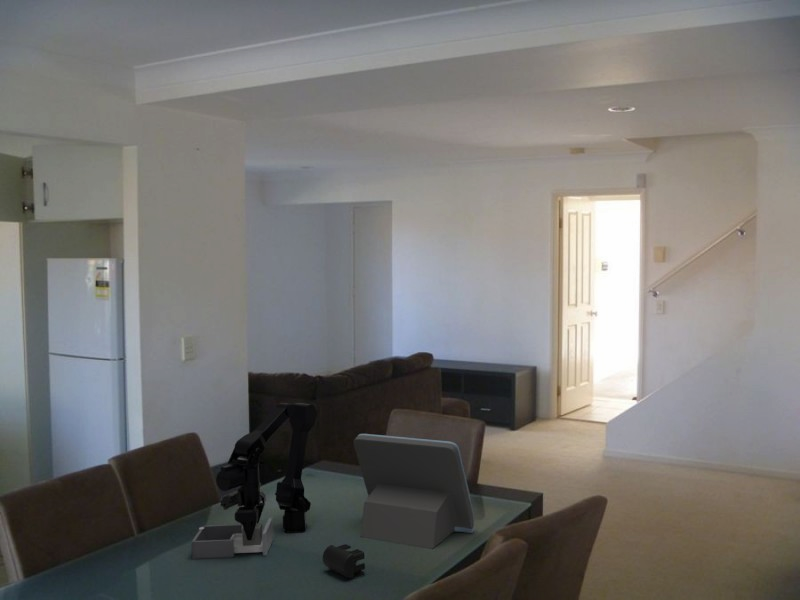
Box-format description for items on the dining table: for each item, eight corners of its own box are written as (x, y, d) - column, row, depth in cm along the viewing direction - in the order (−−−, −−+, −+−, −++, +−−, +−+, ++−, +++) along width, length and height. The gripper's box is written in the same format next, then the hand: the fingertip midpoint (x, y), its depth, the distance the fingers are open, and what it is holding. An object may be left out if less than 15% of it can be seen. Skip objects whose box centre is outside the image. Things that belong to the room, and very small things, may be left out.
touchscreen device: (477, 530, 243) (472, 433, 241) (448, 554, 226) (443, 450, 224) (379, 515, 261) (373, 425, 258) (345, 536, 244) (339, 440, 241)
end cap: (322, 572, 215) (321, 547, 215) (344, 565, 220) (343, 540, 219) (344, 582, 207) (343, 557, 207) (366, 575, 212) (365, 550, 212)
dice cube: (242, 546, 232) (242, 529, 232) (245, 540, 237) (245, 523, 237) (260, 545, 232) (259, 528, 232) (262, 539, 237) (262, 522, 237)
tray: (273, 538, 242) (272, 517, 242) (266, 555, 228) (265, 533, 228) (234, 540, 242) (233, 519, 241) (225, 557, 228) (223, 535, 227)
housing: (242, 540, 242) (241, 523, 242) (233, 557, 228) (232, 539, 228) (202, 542, 242) (201, 524, 241) (190, 559, 228) (189, 541, 227)
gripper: (228, 474, 243) (230, 525, 244) (215, 492, 224) (217, 547, 225) (264, 473, 243) (267, 523, 244) (255, 491, 225) (257, 545, 225)
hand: (252, 534), depth 235 cm, fingers open, 9 cm apart
